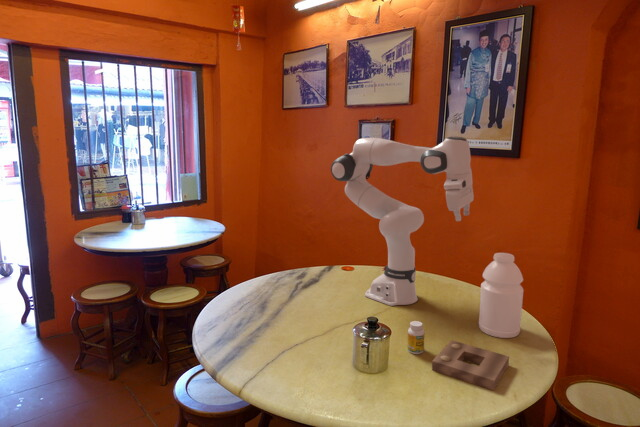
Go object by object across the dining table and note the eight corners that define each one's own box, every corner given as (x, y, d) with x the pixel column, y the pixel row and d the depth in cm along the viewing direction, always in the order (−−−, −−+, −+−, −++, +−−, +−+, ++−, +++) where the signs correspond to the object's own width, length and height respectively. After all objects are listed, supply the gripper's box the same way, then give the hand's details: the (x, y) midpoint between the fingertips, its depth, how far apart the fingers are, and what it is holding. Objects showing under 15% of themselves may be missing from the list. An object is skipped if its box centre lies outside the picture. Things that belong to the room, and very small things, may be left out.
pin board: (431, 369, 133) (432, 360, 132) (451, 348, 145) (451, 339, 144) (493, 390, 122) (494, 380, 121) (508, 365, 134) (509, 355, 134)
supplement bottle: (415, 345, 148) (416, 318, 146) (427, 351, 143) (428, 324, 141) (403, 349, 145) (404, 322, 143) (415, 356, 140) (416, 328, 139)
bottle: (470, 325, 161) (474, 252, 156) (498, 318, 167) (503, 247, 161) (499, 342, 149) (504, 263, 143) (529, 334, 154) (535, 257, 149)
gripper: (459, 177, 170) (462, 212, 173) (441, 185, 154) (445, 224, 156) (476, 176, 167) (479, 212, 169) (459, 184, 150) (462, 224, 153)
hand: (462, 217), depth 162 cm, fingers open, 8 cm apart
